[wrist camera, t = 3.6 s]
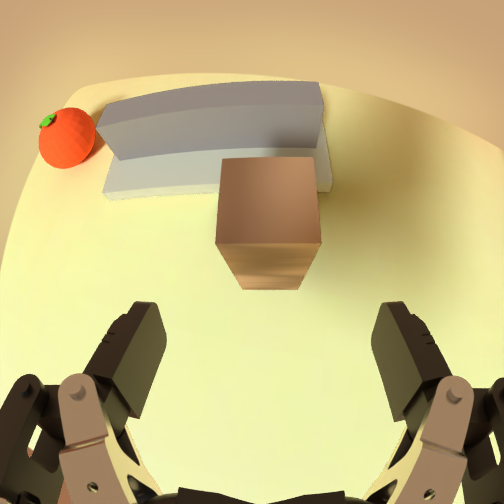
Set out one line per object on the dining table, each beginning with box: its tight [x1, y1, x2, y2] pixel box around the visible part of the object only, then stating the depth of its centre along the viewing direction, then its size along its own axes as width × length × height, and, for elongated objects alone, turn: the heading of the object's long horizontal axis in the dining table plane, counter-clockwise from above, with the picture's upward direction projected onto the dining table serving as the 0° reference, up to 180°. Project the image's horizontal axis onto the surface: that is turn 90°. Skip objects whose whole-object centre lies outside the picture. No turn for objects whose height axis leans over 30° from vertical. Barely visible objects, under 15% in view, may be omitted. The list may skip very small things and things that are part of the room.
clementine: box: [39, 108, 95, 169], centre depth 23 cm, size 8×7×7 cm
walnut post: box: [215, 157, 321, 290], centre depth 16 cm, size 4×4×10 cm
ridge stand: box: [95, 81, 333, 201], centre depth 21 cm, size 20×10×6 cm, turn 89°
